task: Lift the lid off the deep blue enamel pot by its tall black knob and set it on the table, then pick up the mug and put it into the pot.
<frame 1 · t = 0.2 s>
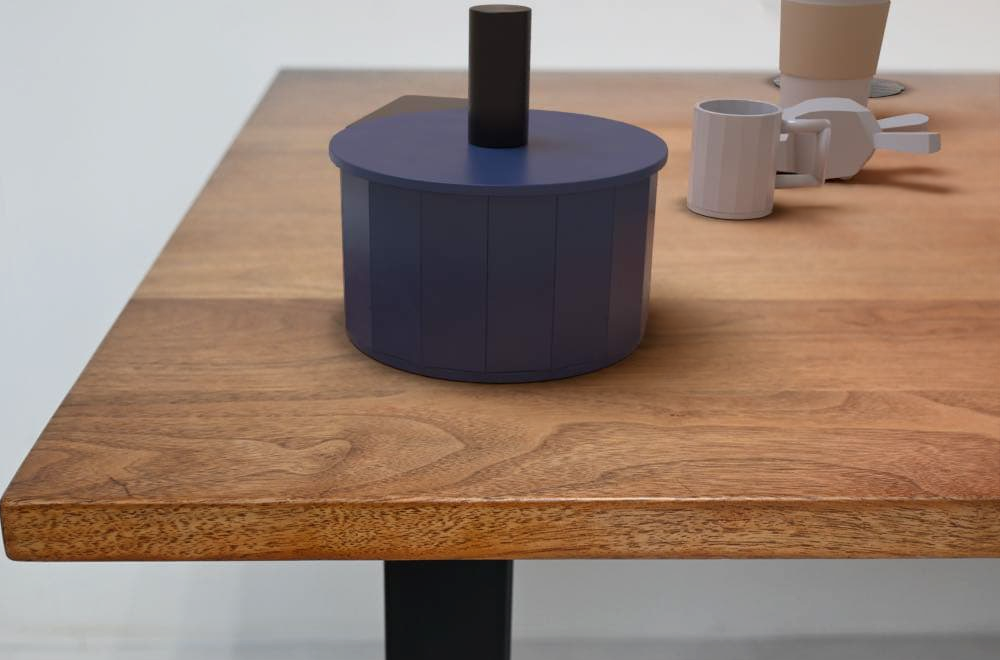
lid: (497, 152, 58), point 8 cm above the table, touching pot
pot: (494, 323, 62), on the table
smartphone: (415, 124, 104), on the table
grey flat disc: (837, 87, 121), on the table
bunny figurine: (816, 176, 89), on the table
coffee cup: (820, 123, 106), on the table
mug: (729, 207, 81), on the table
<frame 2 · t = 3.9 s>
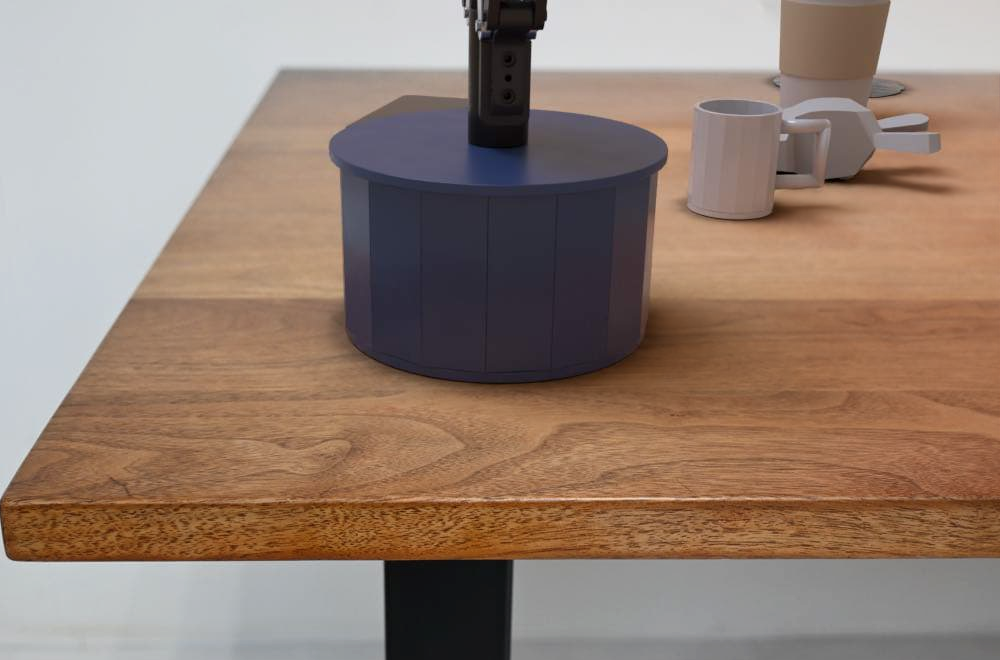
hand: (498, 115, 58), 10 cm above the table, tool pointing down, fingers closed on lid, 3 cm apart
lid: (497, 152, 58), point 9 cm above the table, touching gripper, pot
everything else where it was.
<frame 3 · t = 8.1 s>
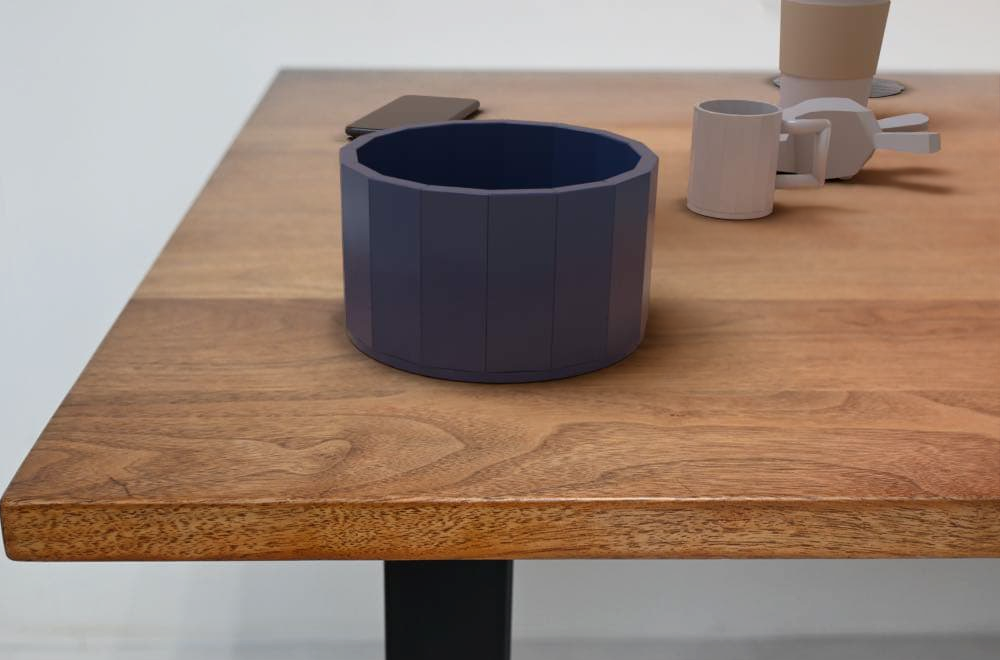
when the fingers open (2 cm above the table, at t = 12.5 s): lid stays where it is, point 1 cm above the table.
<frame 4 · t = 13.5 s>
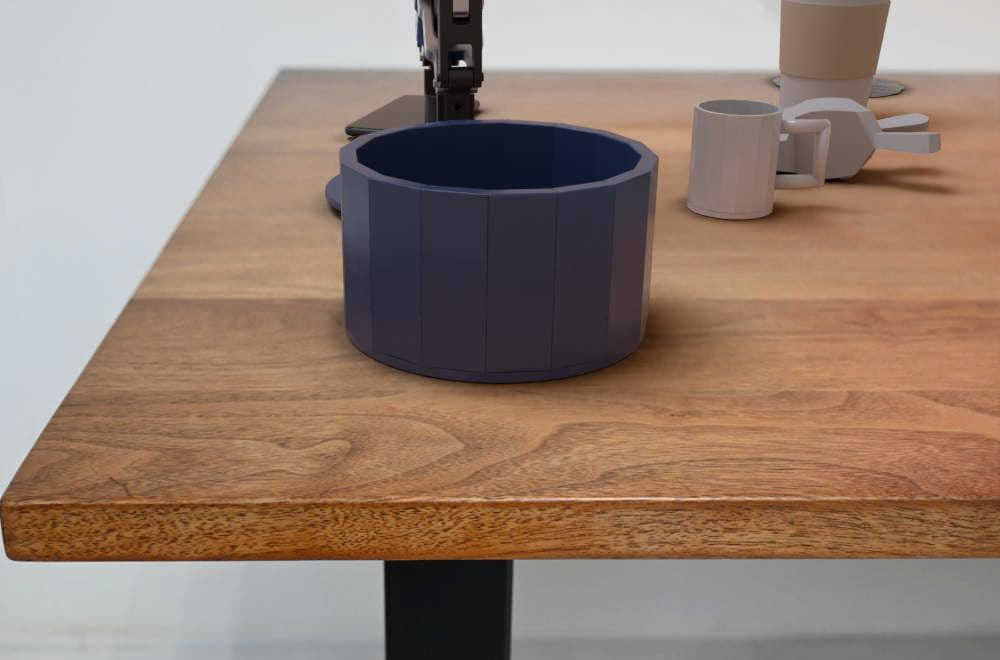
hand: (447, 139, 80), 4 cm above the table, tool pointing down, fingers open, 8 cm apart
lid: (446, 193, 81), point 1 cm above the table
everything else where it was.
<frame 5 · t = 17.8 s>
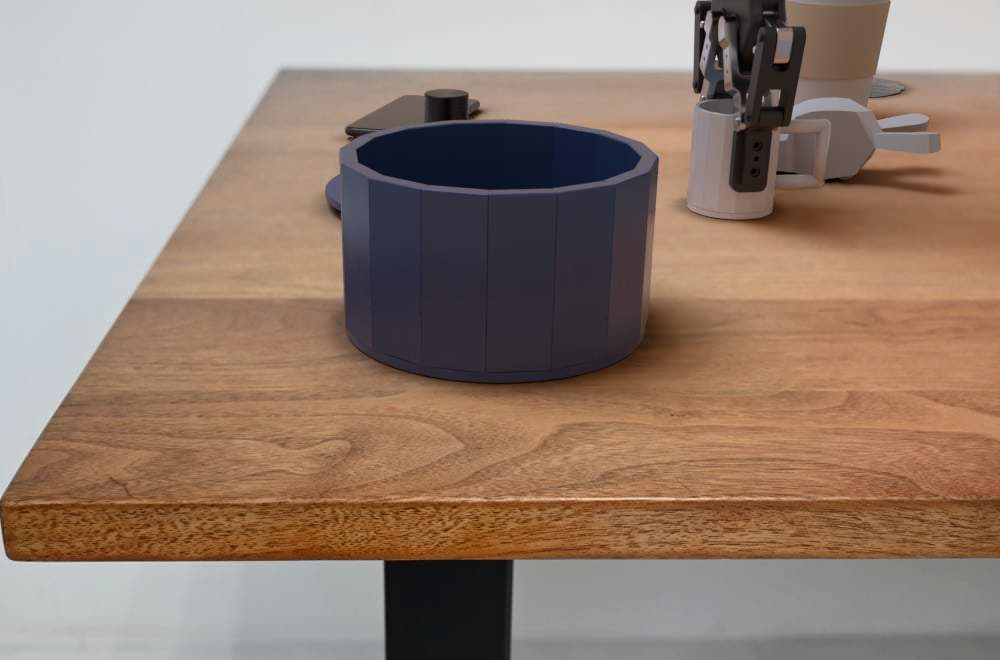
hand: (731, 177, 80), 2 cm above the table, tool pointing down, fingers closed on mug, 5 cm apart
mug: (729, 207, 81), on the table, touching gripper
everything else where it was.
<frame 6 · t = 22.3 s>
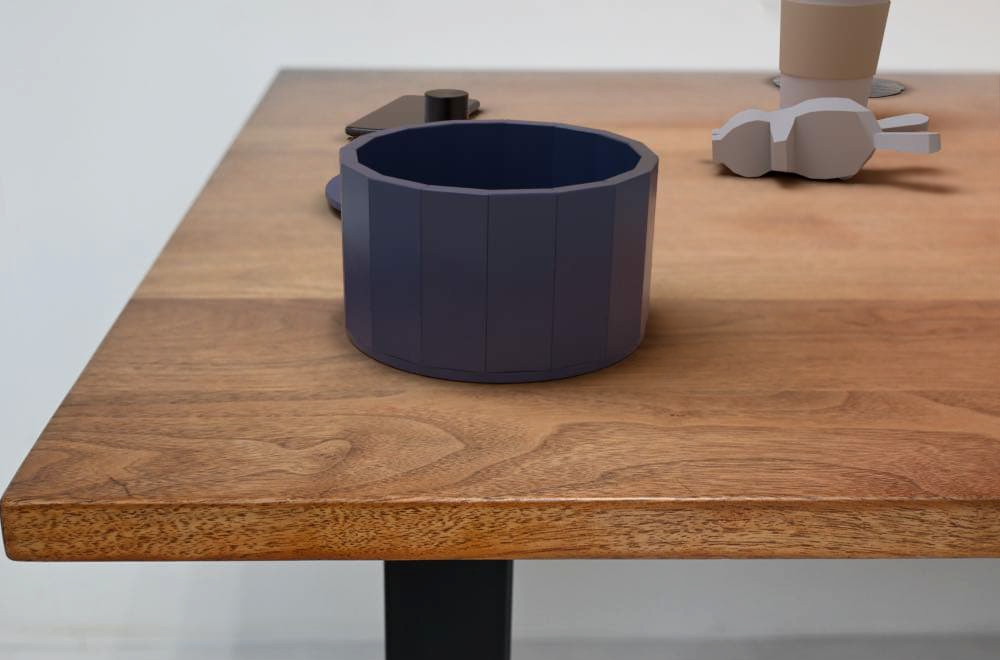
when the fingers open (3 cm above the table, at t = 26.8 s): mug stays where it is, resting on pot.
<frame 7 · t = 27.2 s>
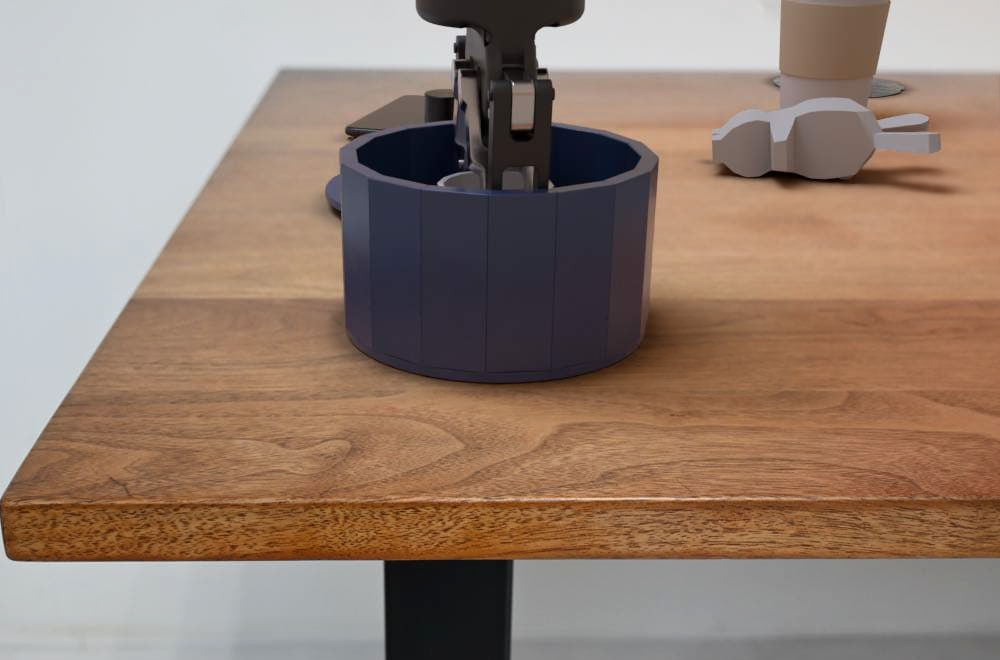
hand: (495, 272, 61), 3 cm above the table, tool pointing down, fingers open, 6 cm apart
mug: (493, 313, 61), point 1 cm above the table, touching pot
everything else where it was.
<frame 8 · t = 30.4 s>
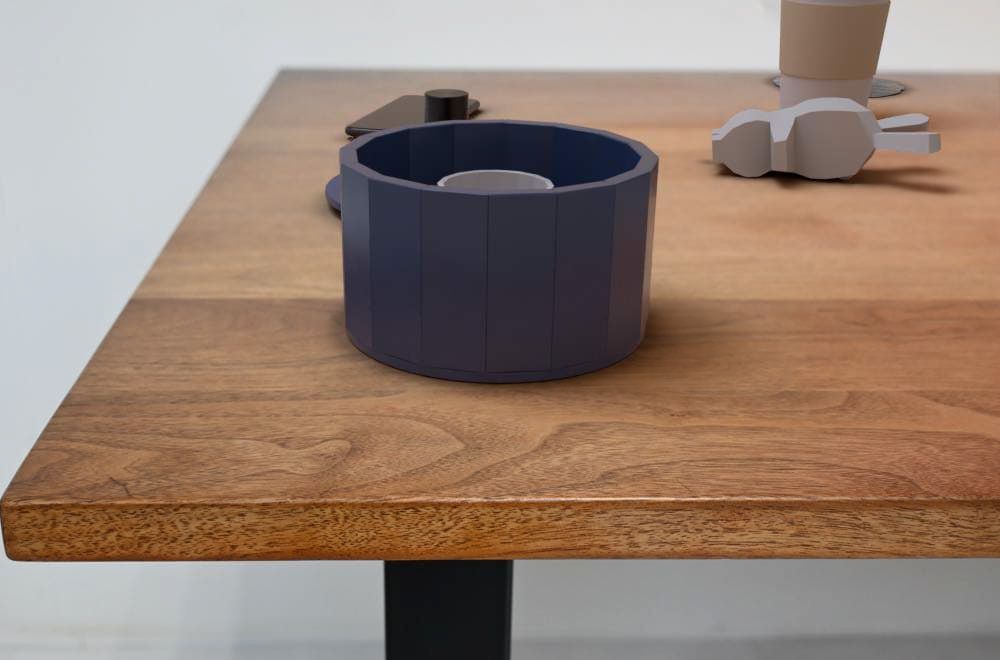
nothing on the table moved.
at the end: lid inside the target area (0.0 cm from its centre), point 0.6 cm above the table; mug inside the target area in the pot (0.1 cm from its centre), point 0.5 cm above the pot's base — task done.
